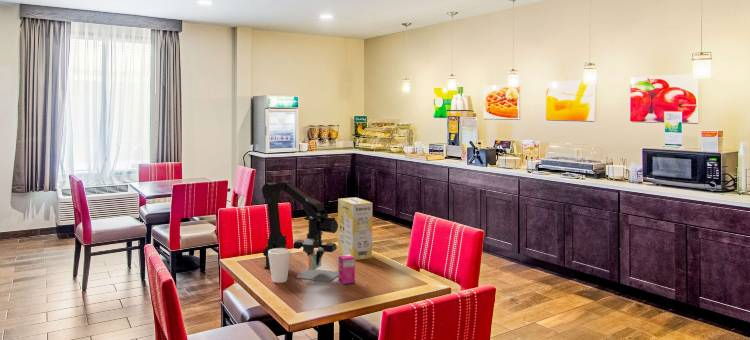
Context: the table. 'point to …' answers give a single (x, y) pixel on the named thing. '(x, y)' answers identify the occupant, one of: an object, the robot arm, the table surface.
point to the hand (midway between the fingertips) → (314, 264)
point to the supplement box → (346, 269)
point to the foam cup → (279, 264)
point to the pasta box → (355, 227)
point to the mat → (318, 275)
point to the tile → (313, 261)
